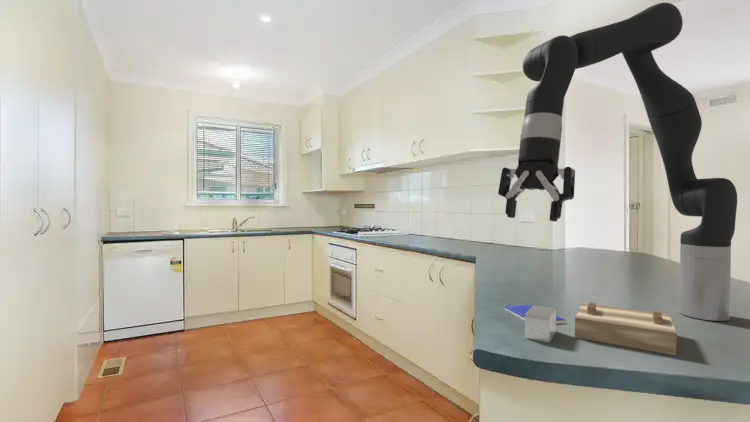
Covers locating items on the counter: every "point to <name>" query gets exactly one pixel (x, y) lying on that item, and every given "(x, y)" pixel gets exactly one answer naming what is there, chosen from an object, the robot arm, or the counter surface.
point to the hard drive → (522, 309)
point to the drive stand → (626, 328)
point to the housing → (540, 323)
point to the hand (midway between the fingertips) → (531, 219)
